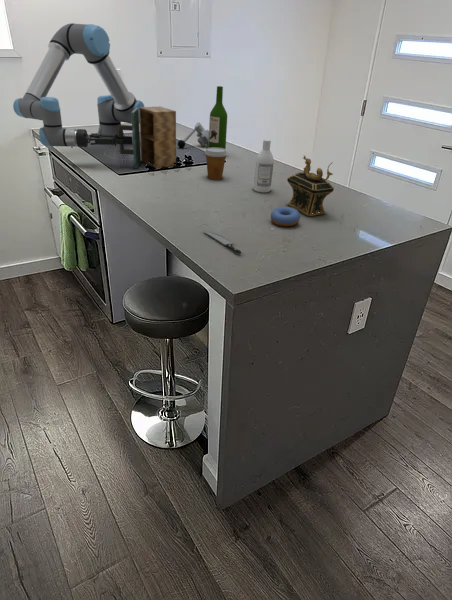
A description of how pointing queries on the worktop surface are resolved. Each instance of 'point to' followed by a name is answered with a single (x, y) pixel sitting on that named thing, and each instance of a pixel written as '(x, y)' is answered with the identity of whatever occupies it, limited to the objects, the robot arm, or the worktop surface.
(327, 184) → the decorative box
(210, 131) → the wine bottle
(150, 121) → the cabinet
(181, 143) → the mechanical valve
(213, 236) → the chef's knife
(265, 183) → the bath foam
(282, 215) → the doughnut
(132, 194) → the worktop surface
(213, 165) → the disposable coffee cup
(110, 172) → the worktop surface
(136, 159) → the door
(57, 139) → the robot arm
